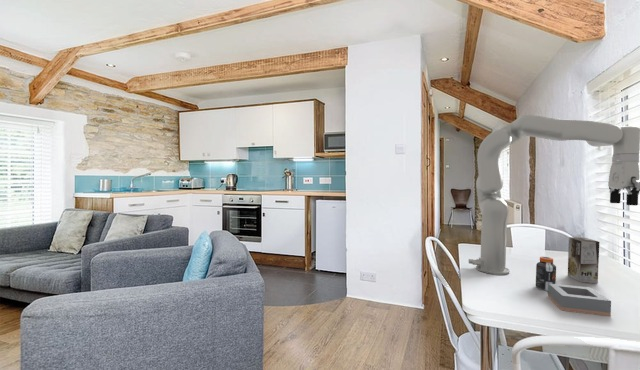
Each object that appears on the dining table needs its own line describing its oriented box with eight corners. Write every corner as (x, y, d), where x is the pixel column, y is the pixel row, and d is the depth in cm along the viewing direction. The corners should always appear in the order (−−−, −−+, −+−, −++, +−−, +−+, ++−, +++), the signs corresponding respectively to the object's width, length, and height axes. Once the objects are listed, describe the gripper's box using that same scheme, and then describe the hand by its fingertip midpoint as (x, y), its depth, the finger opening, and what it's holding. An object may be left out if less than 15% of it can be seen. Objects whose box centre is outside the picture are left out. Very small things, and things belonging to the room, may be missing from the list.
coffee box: (598, 283, 124) (600, 241, 123) (579, 282, 125) (581, 240, 125) (584, 276, 133) (586, 237, 132) (566, 275, 134) (568, 236, 134)
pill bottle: (556, 292, 113) (557, 260, 113) (535, 289, 117) (536, 258, 116) (554, 287, 118) (555, 257, 118) (535, 284, 122) (536, 254, 121)
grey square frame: (561, 310, 98) (562, 295, 98) (547, 296, 110) (548, 283, 109) (610, 316, 94) (611, 301, 94) (590, 301, 106) (591, 287, 106)
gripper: (600, 160, 133) (598, 202, 133) (628, 157, 116) (626, 205, 116) (622, 160, 131) (620, 202, 131) (654, 158, 114) (652, 206, 114)
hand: (623, 204), depth 124 cm, fingers open, 9 cm apart
